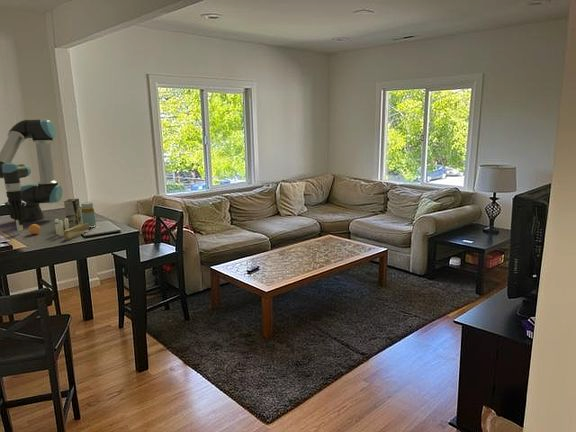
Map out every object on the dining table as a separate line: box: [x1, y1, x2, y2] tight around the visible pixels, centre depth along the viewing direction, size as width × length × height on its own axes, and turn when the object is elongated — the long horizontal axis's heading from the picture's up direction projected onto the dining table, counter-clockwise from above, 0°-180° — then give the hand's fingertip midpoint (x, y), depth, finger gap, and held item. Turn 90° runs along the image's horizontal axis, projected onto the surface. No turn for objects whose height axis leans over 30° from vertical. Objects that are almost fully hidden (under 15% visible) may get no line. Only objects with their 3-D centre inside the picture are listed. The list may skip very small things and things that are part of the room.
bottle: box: [81, 201, 97, 226], centre depth 264 cm, size 7×7×15 cm
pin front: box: [53, 218, 60, 236], centre depth 248 cm, size 2×2×9 cm
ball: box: [28, 223, 41, 235], centre depth 251 cm, size 6×6×6 cm
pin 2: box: [63, 217, 70, 230], centre depth 250 cm, size 2×2×9 cm
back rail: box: [63, 222, 90, 241], centre depth 247 cm, size 3×18×5 cm, turn 171°
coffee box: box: [63, 198, 83, 228], centre depth 270 cm, size 9×6×16 cm
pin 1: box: [58, 219, 64, 237], centre depth 245 cm, size 2×2×9 cm
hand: (20, 230), depth 253 cm, fingers closed
